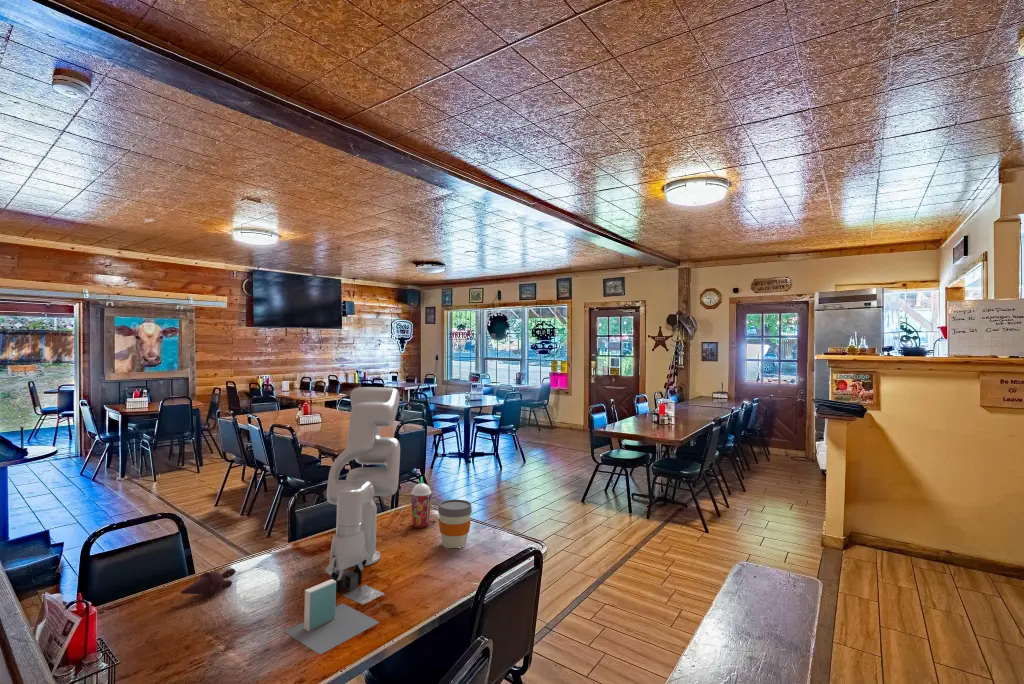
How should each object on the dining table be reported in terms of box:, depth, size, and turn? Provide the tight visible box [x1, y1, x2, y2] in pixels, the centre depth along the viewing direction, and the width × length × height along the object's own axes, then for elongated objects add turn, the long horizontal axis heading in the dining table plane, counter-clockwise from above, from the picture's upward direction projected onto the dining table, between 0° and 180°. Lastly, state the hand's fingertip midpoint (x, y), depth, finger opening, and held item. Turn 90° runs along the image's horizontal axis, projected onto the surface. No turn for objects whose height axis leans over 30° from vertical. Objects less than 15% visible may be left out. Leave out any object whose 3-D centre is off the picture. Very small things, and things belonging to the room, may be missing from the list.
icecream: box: [180, 568, 236, 598], centre depth 151 cm, size 7×7×15 cm
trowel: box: [329, 567, 385, 606], centre depth 155 cm, size 19×8×5 cm, turn 54°
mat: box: [282, 603, 380, 656], centre depth 135 cm, size 16×18×1 cm
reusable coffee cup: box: [437, 499, 473, 549], centre depth 193 cm, size 13×13×15 cm
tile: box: [303, 578, 337, 631], centre depth 136 cm, size 2×8×10 cm, turn 144°
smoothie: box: [410, 476, 432, 528], centre depth 211 cm, size 8×8×20 cm
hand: (347, 586), depth 156 cm, fingers open, 6 cm apart
